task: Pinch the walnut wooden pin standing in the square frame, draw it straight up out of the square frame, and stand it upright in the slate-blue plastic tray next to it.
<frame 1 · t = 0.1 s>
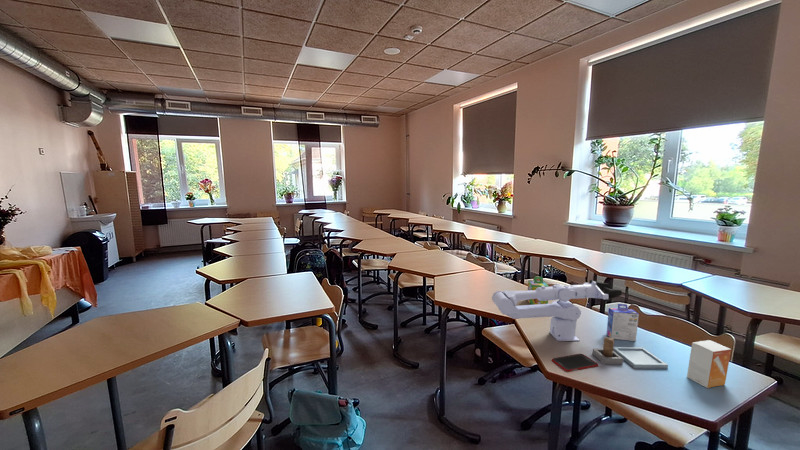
hand: (614, 289, 133), 22 cm above the table, tool horizontal, fingers open, 7 cm apart
pin: (608, 349, 119), in the square frame
chalk box: (537, 303, 174), on the table
small box: (705, 381, 106), on the table
cell phone: (574, 364, 116), on the table
square frame: (607, 358, 119), on the table
ink cartridge box: (620, 337, 136), on the table
tray: (638, 359, 119), on the table
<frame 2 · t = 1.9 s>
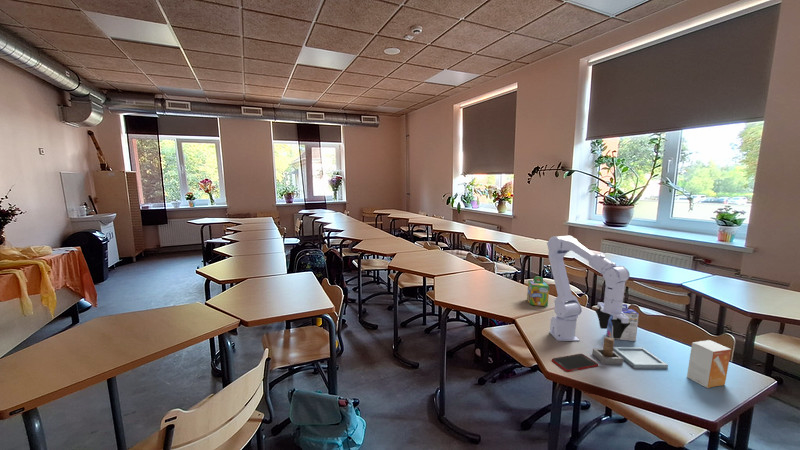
hand: (609, 333, 118), 10 cm above the table, tool pointing down, fingers open, 7 cm apart
nothing on the table moved.
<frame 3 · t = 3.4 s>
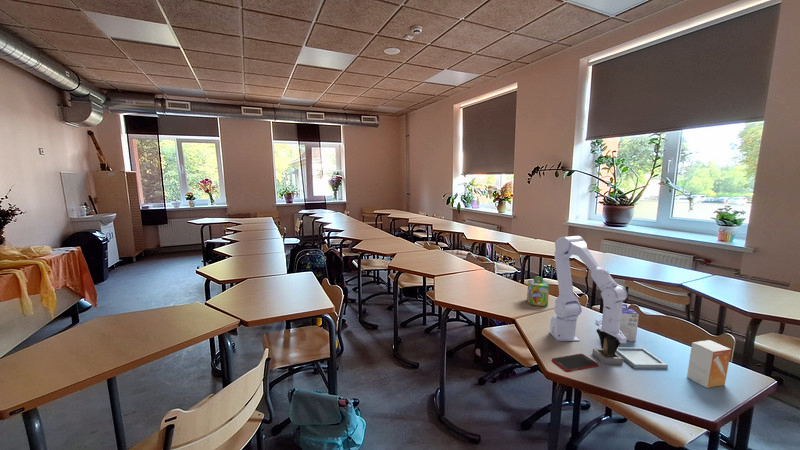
hand: (607, 351, 119), 3 cm above the table, tool pointing down, fingers closed on pin, 3 cm apart
pin: (608, 349, 119), in the square frame, touching gripper
everything else where it was.
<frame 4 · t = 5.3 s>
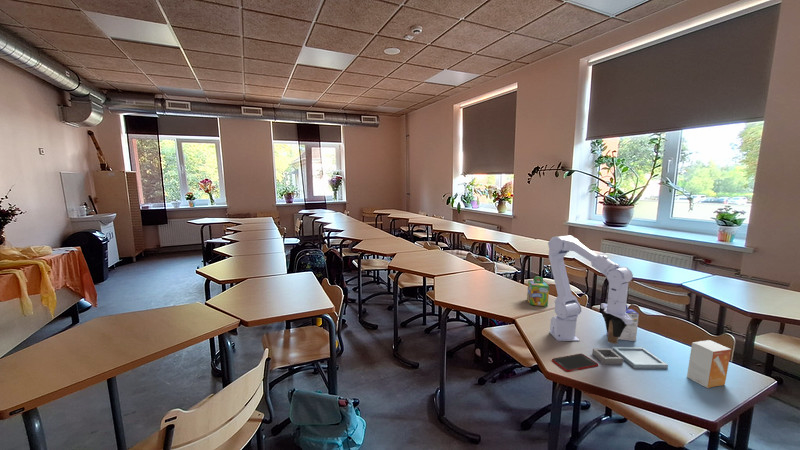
hand: (613, 334, 118), 10 cm above the table, tool pointing down, fingers closed on pin, 3 cm apart
pin: (613, 331, 118), point 11 cm above the table, touching gripper
everything else where it was.
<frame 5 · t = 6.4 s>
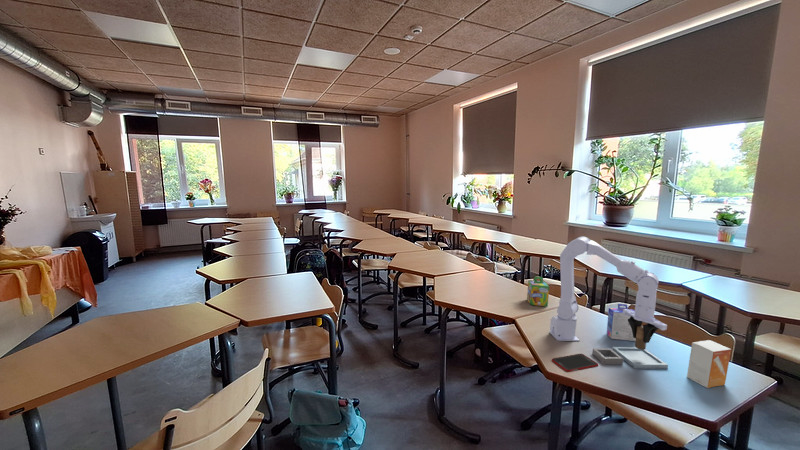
hand: (641, 339, 118), 8 cm above the table, tool pointing down, fingers closed on pin, 3 cm apart
pin: (641, 337, 118), point 9 cm above the table, touching gripper
everything else where it was.
when the fingers open (5 cm above the table, at t = 7.2 s): pin stays where it is, resting on tray.
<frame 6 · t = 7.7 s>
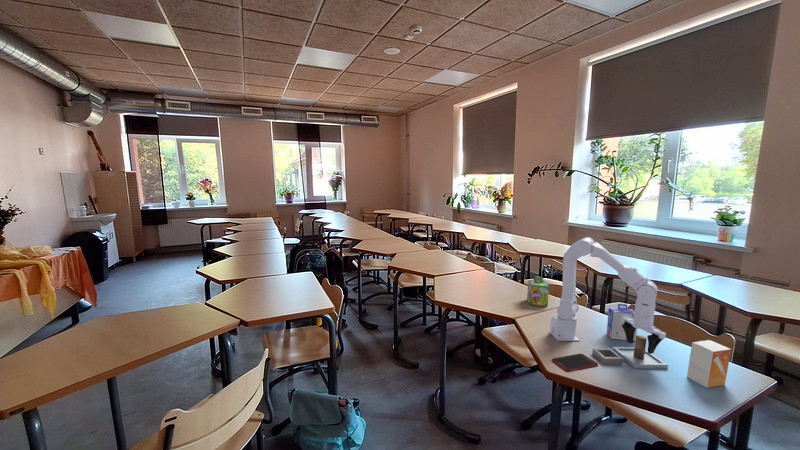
hand: (640, 347, 118), 5 cm above the table, tool pointing down, fingers open, 7 cm apart
pin: (640, 347, 118), point 5 cm above the table, touching tray
everything else where it was.
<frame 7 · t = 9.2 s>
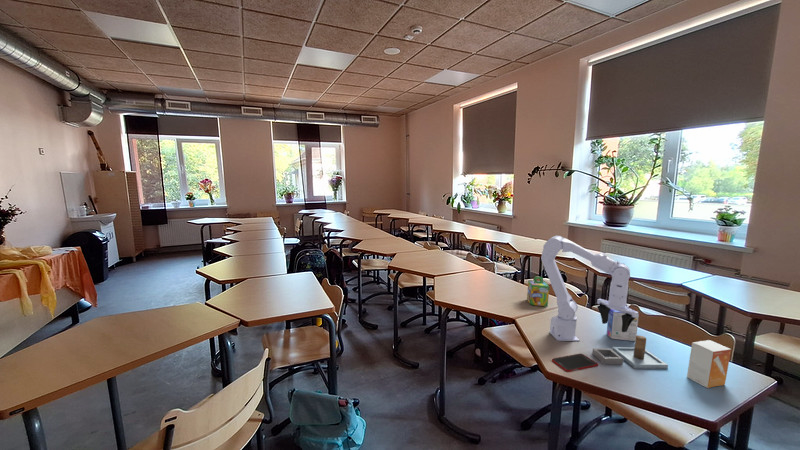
hand: (614, 327, 125), 9 cm above the table, tool pointing down, fingers open, 7 cm apart
nothing on the table moved.
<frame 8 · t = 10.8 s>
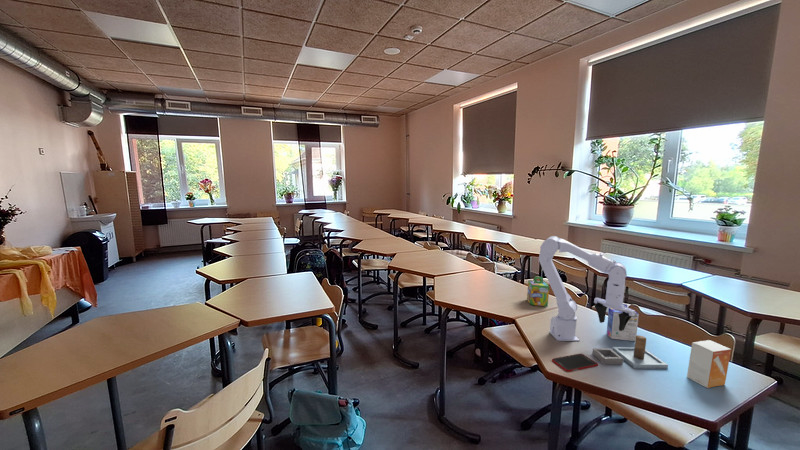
hand: (611, 326, 126), 9 cm above the table, tool pointing down, fingers open, 7 cm apart
nothing on the table moved.
at the end: pin inside the target area on the tray (0.1 cm from its centre), point 4.8 cm above the tray's base; pin tilted 0°; the gripper is holding nothing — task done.
